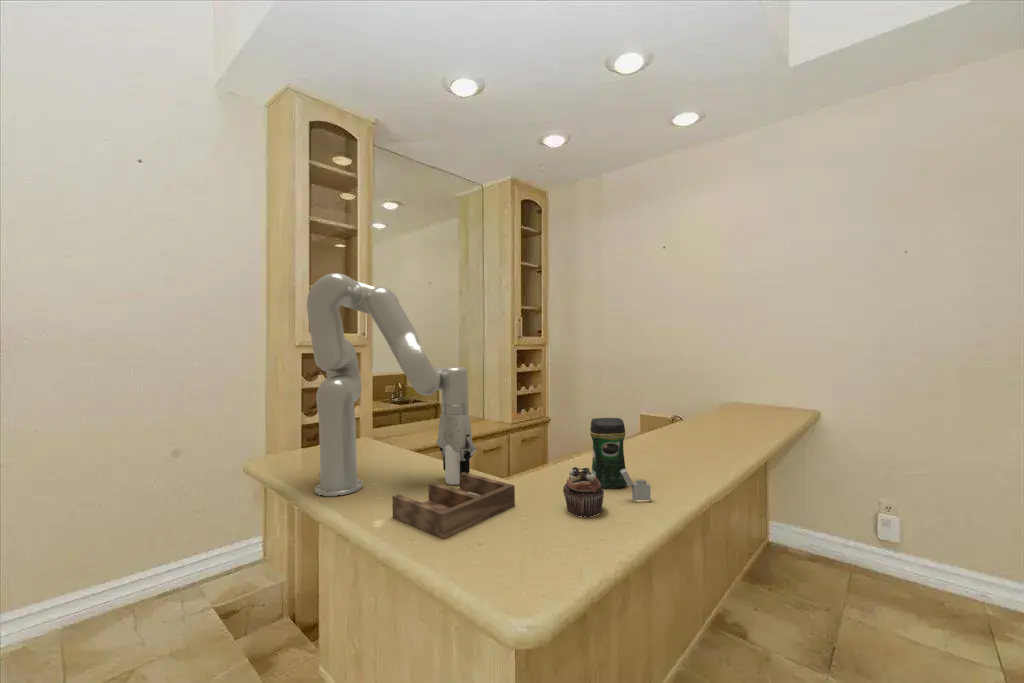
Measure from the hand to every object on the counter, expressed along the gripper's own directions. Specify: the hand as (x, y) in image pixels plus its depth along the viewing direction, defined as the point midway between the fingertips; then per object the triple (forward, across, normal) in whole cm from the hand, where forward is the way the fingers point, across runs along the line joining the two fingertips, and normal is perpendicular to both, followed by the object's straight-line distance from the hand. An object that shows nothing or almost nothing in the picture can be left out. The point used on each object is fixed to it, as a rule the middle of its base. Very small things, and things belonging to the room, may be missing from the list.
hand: (456, 470), depth 126 cm
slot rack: (+3, +16, -15) cm, 22 cm away
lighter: (+3, +47, +17) cm, 50 cm away
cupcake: (+4, +40, +4) cm, 40 cm away
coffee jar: (+3, +36, +24) cm, 43 cm away
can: (+3, 0, 0) cm, 3 cm away
